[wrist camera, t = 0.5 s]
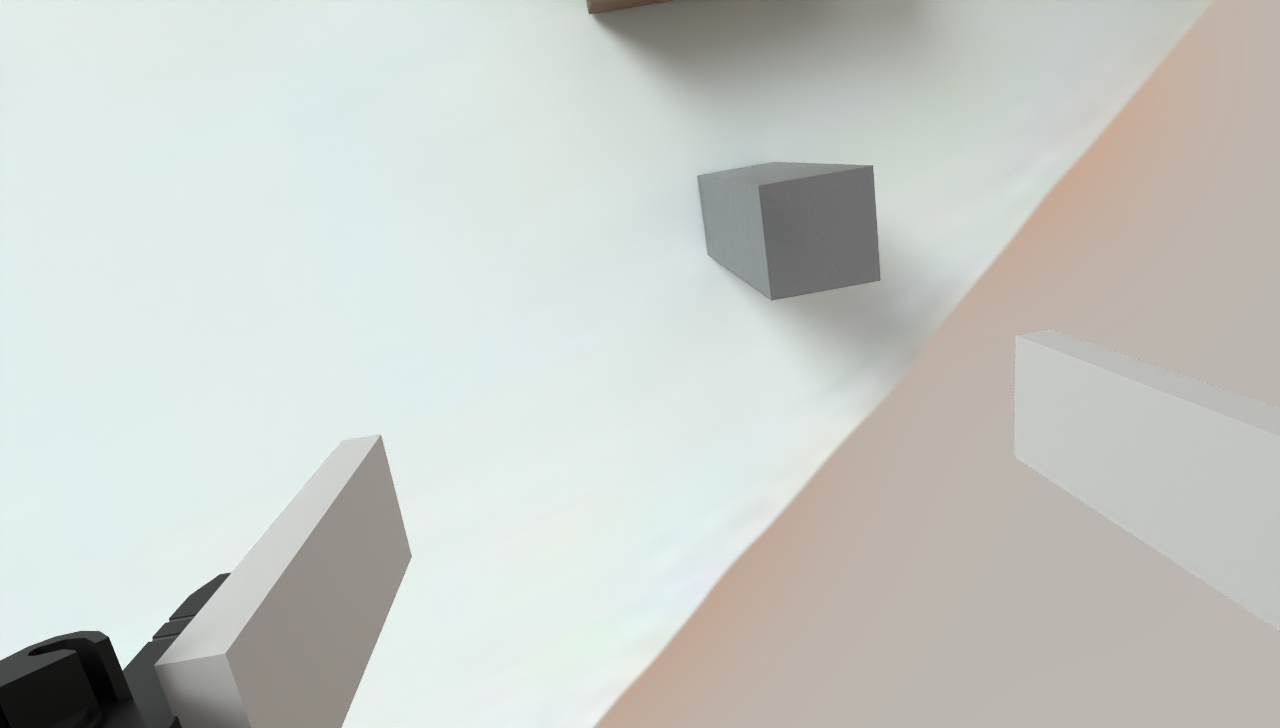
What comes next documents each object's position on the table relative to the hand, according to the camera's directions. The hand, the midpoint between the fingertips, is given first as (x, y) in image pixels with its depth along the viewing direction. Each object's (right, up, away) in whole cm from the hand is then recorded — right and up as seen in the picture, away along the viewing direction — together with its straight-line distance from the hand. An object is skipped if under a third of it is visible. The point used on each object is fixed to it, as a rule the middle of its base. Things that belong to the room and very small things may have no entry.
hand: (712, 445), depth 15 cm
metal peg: (+4, +10, +22) cm, 24 cm away
